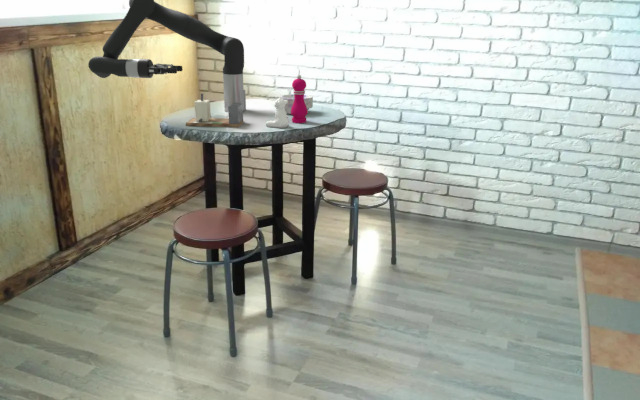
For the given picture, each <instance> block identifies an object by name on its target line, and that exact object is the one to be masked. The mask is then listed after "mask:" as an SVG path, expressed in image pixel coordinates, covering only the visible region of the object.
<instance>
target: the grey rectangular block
mask: <svg viewBox="0 0 640 400" xmlns="http://www.w3.org/2000/svg"><path fill="white" fill-rule="evenodd" d="M228 119H229V124H239V123H240V122H241V121H242V120H244V111H243V103H232V104H231V105H230V106H229V107H228Z"/></svg>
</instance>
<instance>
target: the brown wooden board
mask: <svg viewBox="0 0 640 400" xmlns="http://www.w3.org/2000/svg"><path fill="white" fill-rule="evenodd" d="M243 123H244V119H243V120H242V121H241V122H240V123H239V124H229V118H218V117H211V119H210V120H209V121H201V122H199V121H196V117H191V119H189V120H188V121H186V122H185V126H186V127H209V128H210V127H214V128H215V127H217V128H218V127H219V128H239V127H240V126H241V125H242V124H243Z"/></svg>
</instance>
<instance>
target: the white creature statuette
mask: <svg viewBox="0 0 640 400" xmlns="http://www.w3.org/2000/svg"><path fill="white" fill-rule="evenodd" d="M274 103H275V104H274V108H275V113H274V119H273V120H268V121H266V122H265V126H266V127H267V128H276V129H286V128H287V127H289V123H290V120H289V118H288V115H287V114H288V113H286V111H285V110H284V108H285V105H286V103H288V100H285V101H284V99H283V98H280V97H279V98H277V99H276V100H275V102H274Z"/></svg>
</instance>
